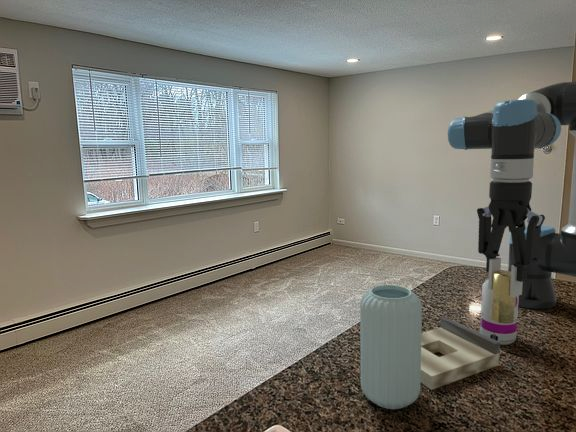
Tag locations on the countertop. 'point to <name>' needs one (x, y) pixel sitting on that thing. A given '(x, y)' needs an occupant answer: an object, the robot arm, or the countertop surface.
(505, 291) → the brass cylinder
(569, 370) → the countertop surface
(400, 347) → the vase
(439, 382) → the jig
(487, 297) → the supplement can
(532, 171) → the robot arm
